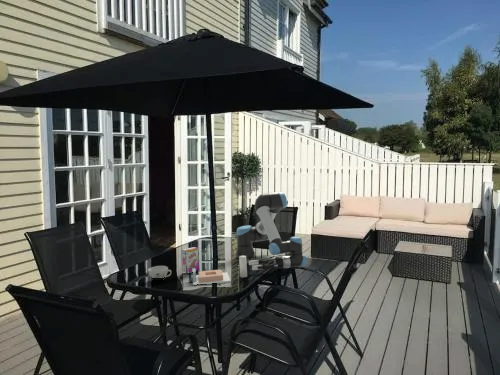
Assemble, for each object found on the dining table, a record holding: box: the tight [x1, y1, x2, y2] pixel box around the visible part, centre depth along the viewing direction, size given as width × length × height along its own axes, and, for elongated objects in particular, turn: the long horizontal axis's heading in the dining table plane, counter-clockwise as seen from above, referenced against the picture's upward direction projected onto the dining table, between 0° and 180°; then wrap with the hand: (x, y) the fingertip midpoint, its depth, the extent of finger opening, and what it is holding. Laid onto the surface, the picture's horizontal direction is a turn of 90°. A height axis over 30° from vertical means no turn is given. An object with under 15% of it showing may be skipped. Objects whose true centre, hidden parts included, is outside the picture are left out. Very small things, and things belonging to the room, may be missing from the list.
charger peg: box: [238, 256, 248, 278], centre depth 272 cm, size 4×4×13 cm
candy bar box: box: [181, 246, 200, 273], centre depth 290 cm, size 11×5×16 cm, turn 134°
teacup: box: [147, 265, 172, 279], centre depth 274 cm, size 15×12×8 cm
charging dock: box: [192, 268, 232, 286], centre depth 269 cm, size 20×23×7 cm
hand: (250, 265), depth 272 cm, fingers open, 13 cm apart
